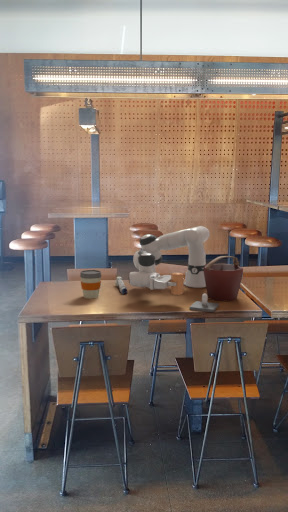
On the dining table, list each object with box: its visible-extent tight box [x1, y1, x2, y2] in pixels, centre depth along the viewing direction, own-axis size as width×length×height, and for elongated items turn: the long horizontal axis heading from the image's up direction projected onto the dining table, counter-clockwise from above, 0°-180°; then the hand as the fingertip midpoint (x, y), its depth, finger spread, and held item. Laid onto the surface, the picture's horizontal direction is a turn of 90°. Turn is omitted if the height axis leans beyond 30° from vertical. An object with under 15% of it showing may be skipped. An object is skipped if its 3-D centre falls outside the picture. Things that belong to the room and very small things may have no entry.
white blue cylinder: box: [114, 276, 128, 295], centre depth 288 cm, size 5×7×25 cm
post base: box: [189, 293, 220, 313], centre depth 246 cm, size 13×13×8 cm
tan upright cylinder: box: [170, 272, 185, 295], centre depth 250 cm, size 7×7×11 cm
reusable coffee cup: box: [79, 269, 102, 299], centre depth 269 cm, size 13×13×15 cm
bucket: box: [204, 255, 244, 302], centre depth 266 cm, size 24×22×25 cm
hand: (178, 282), depth 250 cm, fingers closed on tan upright cylinder, 6 cm apart
